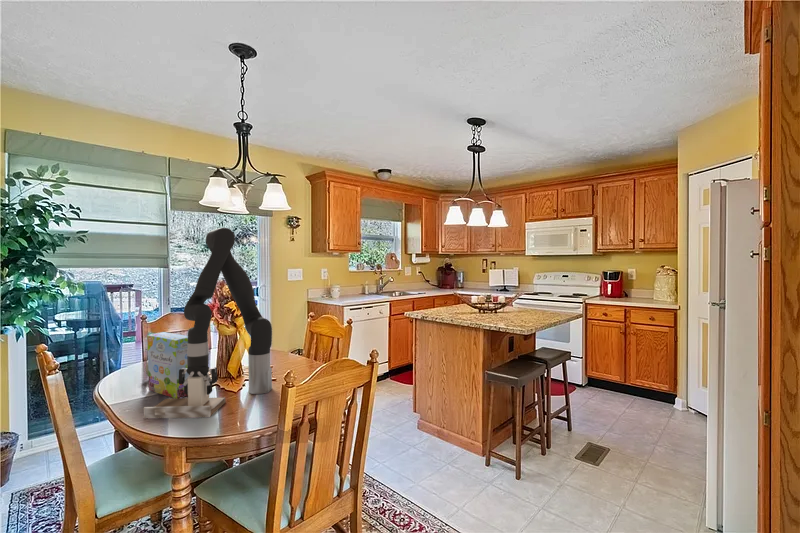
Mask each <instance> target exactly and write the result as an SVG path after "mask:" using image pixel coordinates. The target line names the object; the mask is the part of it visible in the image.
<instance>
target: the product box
mask: <svg viewBox="0 0 800 533" xmlns="http://www.w3.org/2000/svg"><path fill="white" fill-rule="evenodd" d="M208 375H209V376H210V372H208ZM205 377H206V376H205ZM187 398H188V406H203V405H204V404H205V403H206V402H207V401H209V398H210V394H209V395H207V384H206V382H205V381H203V377H190V378H188V396H187Z"/></svg>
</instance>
